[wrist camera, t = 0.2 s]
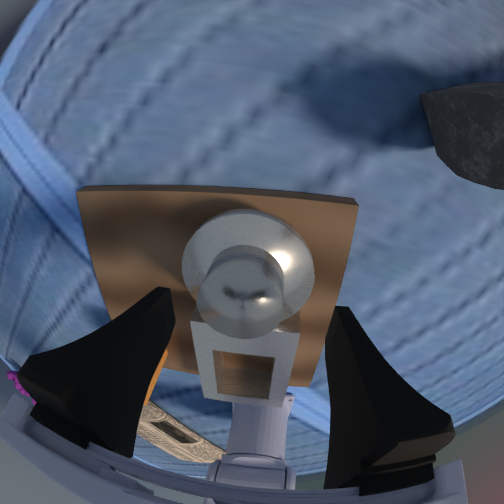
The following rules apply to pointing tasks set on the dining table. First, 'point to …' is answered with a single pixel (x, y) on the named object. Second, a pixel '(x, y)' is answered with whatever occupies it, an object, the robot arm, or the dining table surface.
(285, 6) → the dining table surface
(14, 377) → the purple coral
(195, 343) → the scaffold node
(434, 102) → the hammer
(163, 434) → the newspaper
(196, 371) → the board
